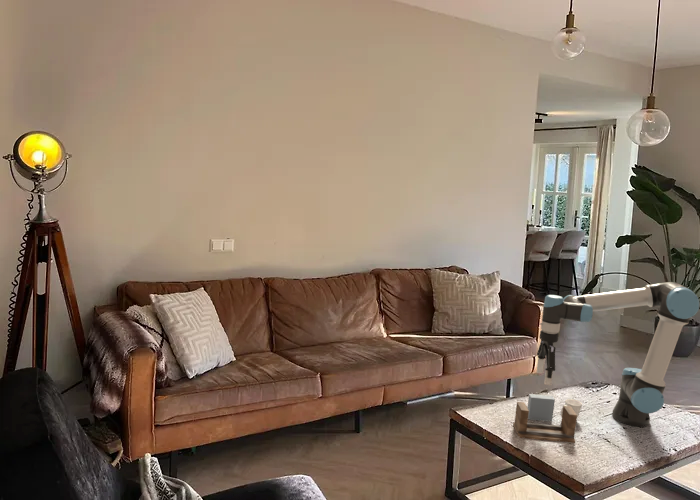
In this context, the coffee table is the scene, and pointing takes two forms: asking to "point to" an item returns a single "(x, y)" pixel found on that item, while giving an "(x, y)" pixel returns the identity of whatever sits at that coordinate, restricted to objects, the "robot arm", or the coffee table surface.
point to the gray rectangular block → (540, 407)
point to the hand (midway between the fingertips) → (543, 378)
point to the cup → (573, 406)
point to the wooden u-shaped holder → (545, 426)
